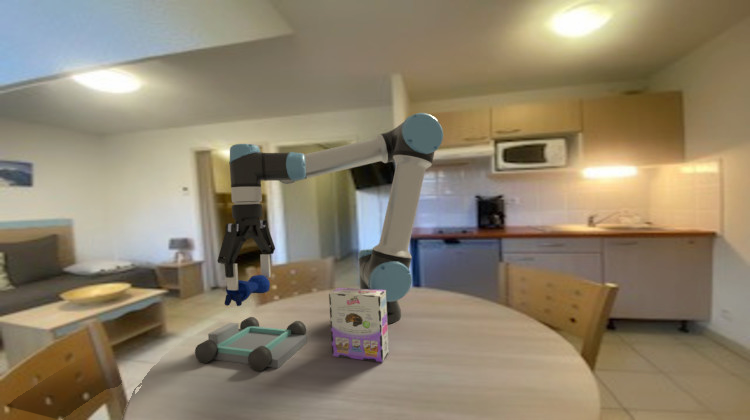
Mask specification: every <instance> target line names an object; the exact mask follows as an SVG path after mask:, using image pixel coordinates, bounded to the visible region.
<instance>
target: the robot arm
mask: <svg viewBox="0 0 750 420" xmlns="http://www.w3.org/2000/svg"><path fill="white" fill-rule="evenodd" d="M443 140H444V131H443V127H442V125H441V124H440V122H439V120H438V119H437V118H436V117H435V116H433V115H431V114H429V113H426V112H418V113H414V114H411V115H410V116H408V117H407V118H406V119H404V121H403V122H401V123H400V124H399V125H398V126H397V127H395V128H393V129H391V130H389V131H387V132H382V133H380V134H377V136H376V137H375V138H371V139H367V140H362V141H358V142H353V143H349V144H344V145H341V146H336V147H335V146H334V147H331V148H327V149H322V150H318V151H314V152H309V153H305V154H304V153H302V152H294V151H289V152H261V150H260V146H259V145H256V144H252V143H249V144H248V143H235V144H233V145H232V146H230V148H229V162H228V164H229V173H230V189H231V191H230V193H231V202H232V203H234V204H232V206H231V215H232V216H231V217H232V219H234V220H235V223H226V224H225V226H224V227H225V229H224V231H225V233H224V236H223V239H222V243H221V247H220V250H219V253H218V254H219V255H218V257H217V263H218V264H221V265H224V274H225V275H224V276H225V278H226V288H227V290H238V280H239V274H238V263H236V260H237V258H238V256H239V254H240V252H241V250H242V248H243V245H244V243H245V242H246V241H247V240H249V239H253V241H254V243H255V244H256V246H257V247H258V249H259V250H260V252H261V253H262V254H260V255H259V256H260V257H259V258H260V259H259V260H260V275H263V276H265V277H266V278H271V276H272V273H271V264H272V263H271V262H272V261H271V255H273V254H274V252H275V250H276V247H275V244H274V241H273V238H272V234H271V233H270V232H271V231H270V229H269V224H268V219H260V218H262V217H263V205H262V203H261V202H262V201H263V195H262V192H263V191H262V182H263V181H264V182H269V181H279V182H280V183H282V184H285V185H288V184H289V185H290V184H293V183H296V182H298V181H303V180H307V179H312V178H315V177H318V176H319V177H320V176H323V175H327V174H332V173H335V172H340V171H344V170H348V169H354V168H357V167H363V166H366V165H369V164H374V163H378V162H382V163H384V164H387V163H391V162H392V163H394V162H395V164H396V166H395V170H394V175H393V180H392V183H391V188H390V192H389V196H388V197H389V198H388V202H387V206H386V212H385V215H384V219H383V224H382V228H381V229H382V230H381V235H380V238H379V243H378V244H377V245H375V246H374V247H372V248H366V249H364V248H363V249H360V250H359V251H358V258H357V259H358V269H359V270H358V272H359V273H358V275H359V289H374V290H386V303H387V323H388V325H390V324H394V323H396V322H398V321H399V320H401V318H402V309H401V307H400V304H399V300H401V299H402V298H404V297H406V295H407V294H408V293H409V292H410V289H411V286H412V283H413V279H412V273H411V271H410V268H411V267H410V266H411V263H412V255H411V253H410V251H409V246H410V242H411V237H412V233H413V227H414V223H415V219H416V214H417V210H418V207H419V206H418V204H419V200H420V196H421V190H422V187H423V182H424V176H425V172H426V170H427V169H429V168H430V167H432V165H433V160H434V156H435V152H436V151H437V150H439V148H440V147H441V144H443V143H442V142H443Z"/></svg>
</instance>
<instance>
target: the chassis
mask: <svg viewBox="0 0 750 420" xmlns="http://www.w3.org/2000/svg"><path fill="white" fill-rule="evenodd" d="M306 333H307V327H306V325H305V324H304V322H302V321H301V320H295V321H293V322H292V323H290V324H289V325H288V326H287V328H274V327H266V326H265V327H264V326H260V322H259V321H258V319H257V318H256V317H254V316H249V317H247V318H246V319H244V320H242V321H241V322H240V325H239V323H237V322H228V323H226V324H225V325H223V326H221V327H219V328H216V329H215V330H213V331H211V332H209V333H208V334H207V335H208V339H207V340H205V341H202V342H201V343H199V344H197V346H195V350H194V355H195V358H196V360H197V361H198V362H199V363H201V364H208V363H209V362H211V361H212V360H215V361H216V360H218V361H223V362H231V363H238V364H245V365H249V366H250V368H251V369H252V370H253V371H255V372H261V371H263V370H264V369H266V368H267V367H268V368H275V369H280V367H281V366H282V365H283V364H284V363H286V362H287V361H288V360H289V359H291V358H292V356H293V355H295V354H296V353H297V352H298V351H300V350H301V349H302V348H303V347H304V346H305V345H307V343H308V336H307V335H306Z"/></svg>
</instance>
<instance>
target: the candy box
mask: <svg viewBox="0 0 750 420" xmlns="http://www.w3.org/2000/svg"><path fill="white" fill-rule="evenodd" d="M328 301H329V317H330V319H329V322H330V334H331V335H330V336H331V339H330V340H331V355H332V356H333V357H337V358H345V359H353V360H362V361H371V362H379V363H383V362H384V361H385V359H386V357H387V356H388V355H389V352H390V351H389V350H390V348H389V331H388V329H389V328H388V327H389V324H388V323H387V303H386V290H374V289H360V288H355V287H354V288H350V287H349V288H348V287H337V288H336V289H334V290H332V291H331V292H329V293H328Z"/></svg>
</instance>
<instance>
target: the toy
mask: <svg viewBox="0 0 750 420" xmlns="http://www.w3.org/2000/svg"><path fill="white" fill-rule="evenodd" d="M270 285H271V283H270V281H269V277H265V276H263V275H261V274H256V275H252V276H250V278H249V279H248V281H247V280H240V279H238V290H227V287H226V289H225V292H226V295H225V300H224V305H225V306H226V307H228V306H230V304H232V303H231V302H232V301H233V302H235V305H236V306H237V307H240V306H242V304H243V303H242V302H245V301H246V300H248V299H249V297H250V295H252V294H265V293H268V292H269V291H270Z"/></svg>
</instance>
